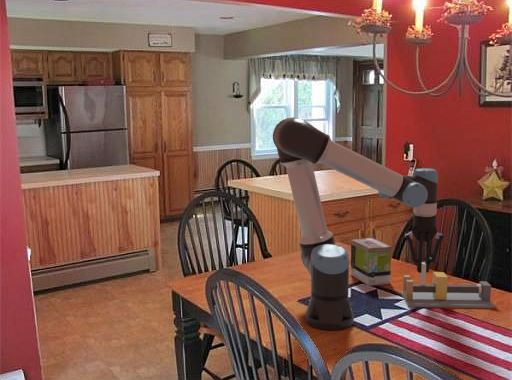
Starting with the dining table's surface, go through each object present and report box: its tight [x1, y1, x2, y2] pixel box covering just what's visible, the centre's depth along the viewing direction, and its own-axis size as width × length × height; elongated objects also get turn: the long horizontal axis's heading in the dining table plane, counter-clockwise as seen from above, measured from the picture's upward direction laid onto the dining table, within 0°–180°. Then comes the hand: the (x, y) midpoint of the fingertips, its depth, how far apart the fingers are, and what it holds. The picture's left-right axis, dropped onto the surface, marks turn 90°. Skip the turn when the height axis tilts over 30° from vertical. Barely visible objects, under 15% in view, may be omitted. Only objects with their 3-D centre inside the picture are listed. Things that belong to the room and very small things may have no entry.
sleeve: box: [432, 271, 449, 300], centre depth 184 cm, size 5×4×8 cm
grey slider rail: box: [401, 274, 495, 309], centre depth 184 cm, size 12×28×8 cm, turn 85°
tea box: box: [350, 237, 392, 286], centre depth 208 cm, size 15×10×15 cm, turn 17°
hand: (422, 281), depth 184 cm, fingers closed
